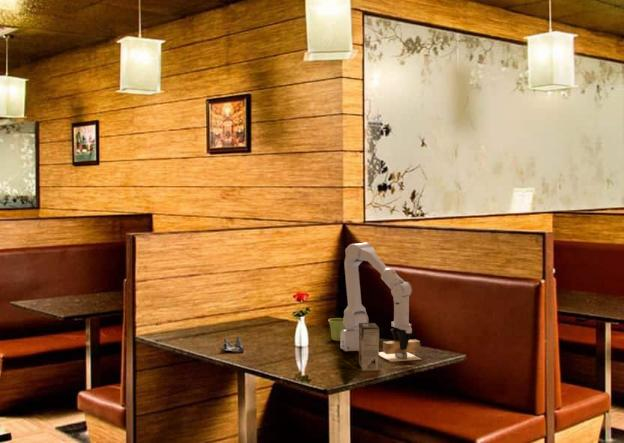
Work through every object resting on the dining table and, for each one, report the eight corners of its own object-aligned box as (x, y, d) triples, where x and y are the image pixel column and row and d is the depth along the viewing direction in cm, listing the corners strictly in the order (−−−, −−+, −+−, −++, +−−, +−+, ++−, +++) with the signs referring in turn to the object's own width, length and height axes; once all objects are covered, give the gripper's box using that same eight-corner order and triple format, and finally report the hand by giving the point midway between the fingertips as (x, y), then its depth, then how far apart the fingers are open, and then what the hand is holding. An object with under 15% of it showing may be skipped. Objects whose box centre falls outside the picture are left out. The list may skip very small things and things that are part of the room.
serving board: (390, 363, 307) (390, 361, 307) (374, 354, 322) (374, 352, 322) (421, 361, 311) (421, 359, 311) (403, 352, 326) (404, 350, 326)
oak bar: (387, 354, 309) (387, 343, 309) (382, 351, 313) (382, 341, 313) (420, 351, 314) (420, 341, 313) (415, 349, 317) (415, 339, 317)
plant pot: (324, 340, 347) (324, 320, 347) (332, 336, 356) (332, 317, 355) (345, 342, 344) (345, 322, 343) (352, 338, 352) (352, 318, 352)
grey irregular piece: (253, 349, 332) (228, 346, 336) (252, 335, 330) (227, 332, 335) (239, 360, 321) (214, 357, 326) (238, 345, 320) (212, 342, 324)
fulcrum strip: (402, 359, 310) (402, 353, 310) (394, 355, 316) (394, 350, 316) (407, 359, 310) (407, 353, 310) (399, 355, 317) (399, 349, 317)
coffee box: (358, 364, 305) (358, 322, 304) (375, 364, 305) (375, 322, 304) (361, 370, 296) (362, 327, 295) (379, 370, 296) (379, 327, 295)
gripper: (419, 316, 307) (418, 351, 308) (402, 309, 320) (402, 343, 321) (402, 317, 304) (401, 352, 305) (386, 310, 318) (386, 344, 319)
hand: (401, 348), depth 313 cm, fingers closed on oak bar, 4 cm apart
